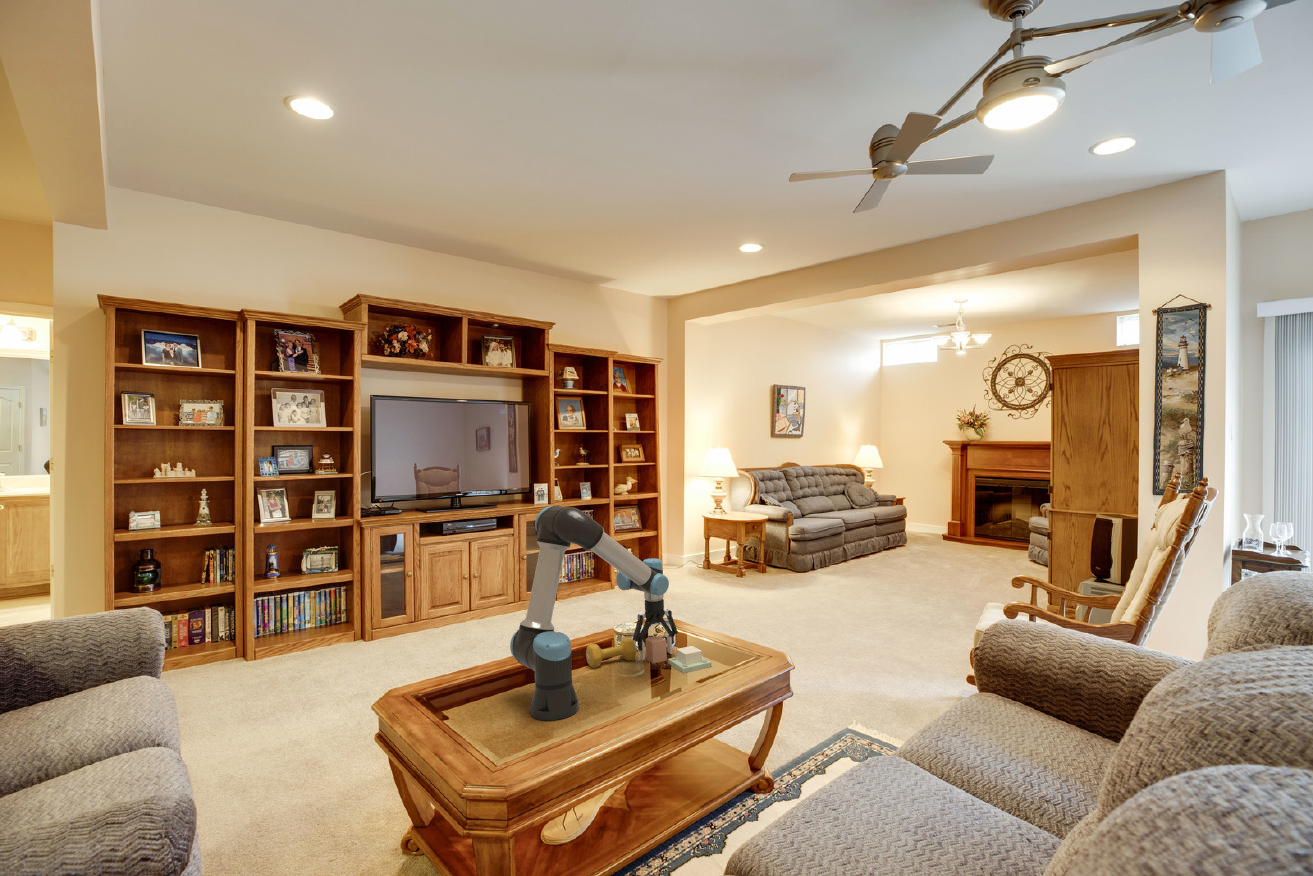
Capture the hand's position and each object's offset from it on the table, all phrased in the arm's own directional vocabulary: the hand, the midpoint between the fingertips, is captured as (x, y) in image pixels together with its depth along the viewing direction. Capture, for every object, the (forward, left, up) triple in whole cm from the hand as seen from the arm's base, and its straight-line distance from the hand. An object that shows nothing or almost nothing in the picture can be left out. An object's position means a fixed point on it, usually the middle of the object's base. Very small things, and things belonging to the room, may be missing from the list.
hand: (656, 655), depth 235 cm
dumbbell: (-16, +7, -2) cm, 18 cm away
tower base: (+8, -12, -2) cm, 15 cm away
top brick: (0, 0, -2) cm, 2 cm away
